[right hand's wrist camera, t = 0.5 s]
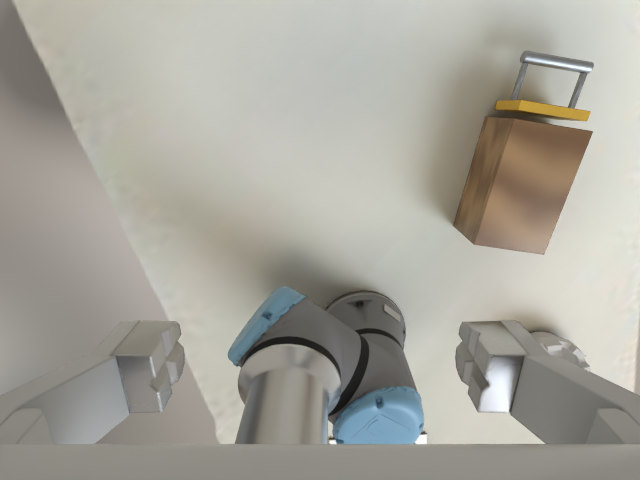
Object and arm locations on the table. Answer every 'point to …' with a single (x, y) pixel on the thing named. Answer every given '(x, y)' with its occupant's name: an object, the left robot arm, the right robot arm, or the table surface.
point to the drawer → (547, 109)
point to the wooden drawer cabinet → (519, 183)
